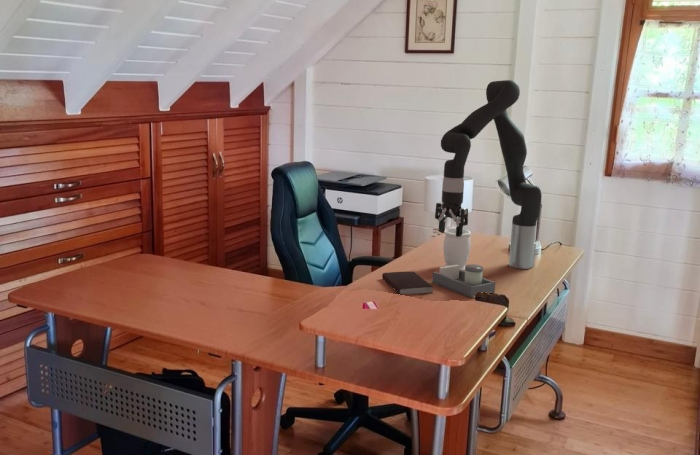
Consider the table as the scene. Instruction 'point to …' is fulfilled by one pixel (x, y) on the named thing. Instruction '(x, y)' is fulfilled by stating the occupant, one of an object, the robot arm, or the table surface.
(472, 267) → the small jar
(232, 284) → the table surface
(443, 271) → the block
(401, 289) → the book
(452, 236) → the jar
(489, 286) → the grey tray
